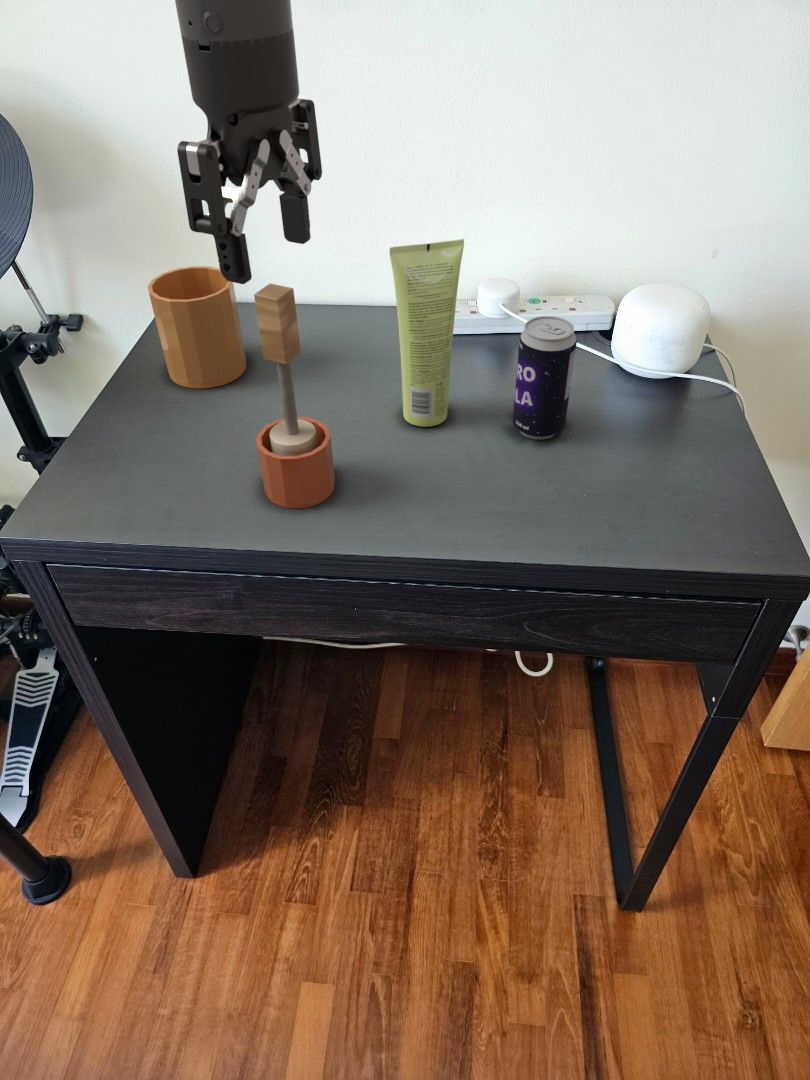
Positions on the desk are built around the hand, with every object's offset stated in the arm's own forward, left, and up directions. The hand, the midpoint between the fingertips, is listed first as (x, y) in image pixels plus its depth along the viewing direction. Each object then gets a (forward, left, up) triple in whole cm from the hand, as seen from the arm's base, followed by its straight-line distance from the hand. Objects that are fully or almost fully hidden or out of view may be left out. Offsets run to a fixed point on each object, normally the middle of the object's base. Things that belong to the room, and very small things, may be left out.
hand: (269, 260), depth 64 cm
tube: (+17, -6, -23) cm, 30 cm away
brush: (0, 0, -23) cm, 23 cm away
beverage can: (+20, -18, -23) cm, 36 cm away
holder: (0, 0, -23) cm, 23 cm away
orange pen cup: (+15, +23, -23) cm, 36 cm away
